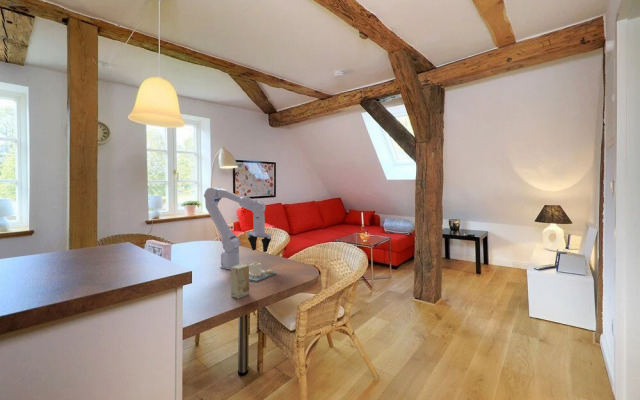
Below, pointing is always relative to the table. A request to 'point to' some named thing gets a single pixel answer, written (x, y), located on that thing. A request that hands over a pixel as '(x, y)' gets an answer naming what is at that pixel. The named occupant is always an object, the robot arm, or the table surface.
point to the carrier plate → (262, 276)
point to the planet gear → (255, 270)
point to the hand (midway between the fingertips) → (259, 250)
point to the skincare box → (239, 281)
